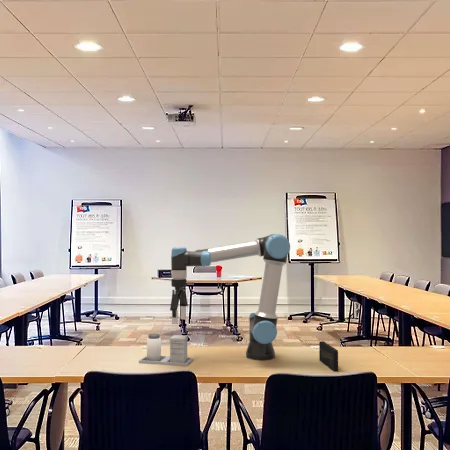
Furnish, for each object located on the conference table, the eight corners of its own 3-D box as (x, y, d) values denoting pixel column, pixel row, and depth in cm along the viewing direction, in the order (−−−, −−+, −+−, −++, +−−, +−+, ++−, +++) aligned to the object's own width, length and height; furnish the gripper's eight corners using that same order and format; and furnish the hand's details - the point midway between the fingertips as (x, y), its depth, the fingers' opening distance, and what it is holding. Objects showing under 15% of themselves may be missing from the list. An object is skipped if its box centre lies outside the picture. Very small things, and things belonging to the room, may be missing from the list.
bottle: (162, 359, 256) (163, 333, 257) (158, 362, 250) (158, 336, 250) (149, 358, 258) (149, 332, 258) (144, 362, 251) (144, 335, 251)
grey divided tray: (193, 362, 255) (193, 357, 255) (186, 368, 244) (186, 363, 244) (147, 359, 261) (147, 355, 261) (138, 365, 249) (138, 360, 249)
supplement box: (173, 360, 255) (173, 334, 255) (187, 360, 254) (187, 335, 254) (169, 364, 248) (169, 338, 248) (184, 364, 246) (184, 338, 247)
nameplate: (338, 371, 239) (338, 350, 239) (334, 372, 238) (334, 350, 238) (322, 360, 259) (322, 340, 259) (319, 360, 259) (319, 341, 259)
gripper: (179, 276, 264) (179, 317, 264) (163, 280, 240) (163, 326, 240) (193, 276, 263) (193, 317, 262) (178, 281, 238) (178, 326, 238)
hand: (179, 321), depth 251 cm, fingers open, 13 cm apart
